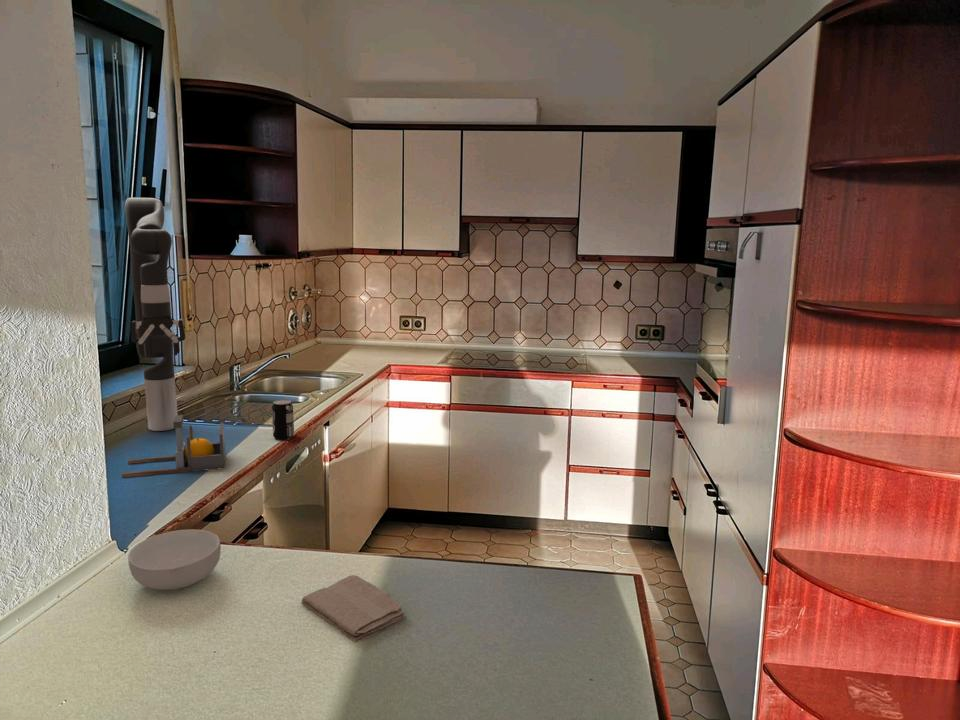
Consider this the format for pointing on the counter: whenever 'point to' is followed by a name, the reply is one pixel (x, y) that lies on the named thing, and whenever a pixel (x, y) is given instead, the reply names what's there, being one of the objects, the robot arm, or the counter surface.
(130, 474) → the rails
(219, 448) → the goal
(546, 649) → the counter surface
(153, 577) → the cereal bowl
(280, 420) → the beverage can
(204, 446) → the orange
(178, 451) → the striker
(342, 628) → the washcloth
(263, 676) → the counter surface
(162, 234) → the robot arm
